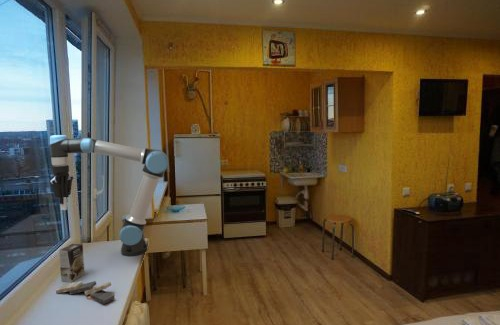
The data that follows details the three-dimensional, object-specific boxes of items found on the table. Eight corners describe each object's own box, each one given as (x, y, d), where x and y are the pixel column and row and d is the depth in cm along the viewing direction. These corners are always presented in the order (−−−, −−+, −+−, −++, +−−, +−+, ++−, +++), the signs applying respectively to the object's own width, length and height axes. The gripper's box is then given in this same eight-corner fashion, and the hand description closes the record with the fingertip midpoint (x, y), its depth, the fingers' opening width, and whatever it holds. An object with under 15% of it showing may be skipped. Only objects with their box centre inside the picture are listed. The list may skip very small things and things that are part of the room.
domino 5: (90, 294, 139) (103, 300, 134) (100, 289, 143) (114, 295, 138) (90, 297, 139) (104, 304, 134) (100, 292, 143) (114, 298, 138)
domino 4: (86, 297, 139) (106, 300, 137) (94, 291, 144) (113, 294, 142) (87, 301, 139) (106, 303, 137) (94, 295, 144) (114, 297, 142)
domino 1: (55, 290, 144) (74, 286, 142) (63, 284, 149) (81, 281, 147) (56, 293, 144) (75, 289, 142) (64, 287, 149) (82, 284, 147)
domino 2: (69, 291, 143) (89, 286, 141) (76, 285, 147) (95, 280, 146) (70, 294, 143) (90, 289, 142) (77, 289, 148) (96, 284, 147)
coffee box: (72, 282, 154) (69, 251, 152) (60, 281, 155) (58, 250, 153) (85, 273, 163) (83, 243, 161) (74, 272, 164) (72, 243, 162)
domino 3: (84, 292, 140) (104, 285, 140) (90, 288, 145) (110, 281, 145) (85, 295, 140) (105, 288, 140) (91, 291, 145) (111, 284, 145)
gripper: (65, 163, 169) (68, 206, 172) (43, 166, 157) (47, 212, 160) (76, 163, 167) (79, 206, 170) (55, 167, 155) (59, 213, 158)
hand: (64, 209), depth 165 cm, fingers closed
